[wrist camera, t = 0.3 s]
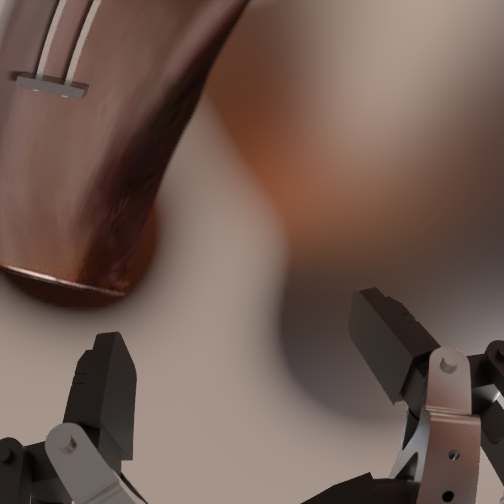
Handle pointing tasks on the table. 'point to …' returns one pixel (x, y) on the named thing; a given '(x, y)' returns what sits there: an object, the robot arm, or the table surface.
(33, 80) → the rail
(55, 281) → the table surface
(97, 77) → the table surface
